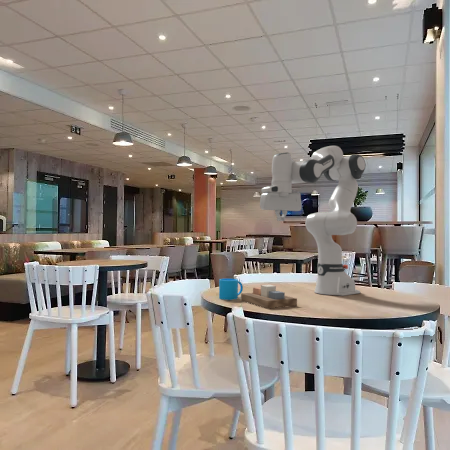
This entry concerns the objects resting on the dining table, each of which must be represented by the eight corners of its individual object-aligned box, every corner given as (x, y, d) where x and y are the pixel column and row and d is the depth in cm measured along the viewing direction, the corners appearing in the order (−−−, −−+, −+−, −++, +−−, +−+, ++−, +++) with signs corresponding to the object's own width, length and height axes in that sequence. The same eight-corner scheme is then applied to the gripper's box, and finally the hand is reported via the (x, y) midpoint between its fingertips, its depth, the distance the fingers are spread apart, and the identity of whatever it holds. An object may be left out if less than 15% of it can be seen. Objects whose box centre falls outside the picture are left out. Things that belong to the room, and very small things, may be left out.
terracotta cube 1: (261, 297, 185) (261, 287, 185) (267, 299, 181) (267, 288, 181) (253, 298, 182) (253, 287, 182) (258, 299, 179) (258, 289, 179)
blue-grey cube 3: (277, 302, 174) (278, 290, 174) (284, 303, 170) (284, 292, 170) (268, 302, 172) (269, 291, 172) (275, 304, 168) (275, 293, 168)
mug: (226, 300, 182) (226, 281, 182) (215, 297, 188) (215, 279, 188) (248, 298, 189) (248, 279, 189) (236, 295, 196) (237, 277, 196)
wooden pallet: (268, 298, 188) (268, 291, 188) (296, 306, 171) (296, 298, 171) (241, 300, 182) (241, 293, 182) (267, 308, 164) (267, 300, 164)
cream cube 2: (269, 295, 179) (269, 284, 179) (275, 297, 175) (275, 286, 175) (260, 296, 177) (260, 285, 177) (266, 297, 173) (266, 286, 173)
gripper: (295, 191, 196) (295, 221, 196) (258, 188, 186) (257, 220, 186) (304, 190, 190) (304, 221, 190) (266, 187, 180) (265, 220, 180)
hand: (281, 220), depth 188 cm, fingers closed
